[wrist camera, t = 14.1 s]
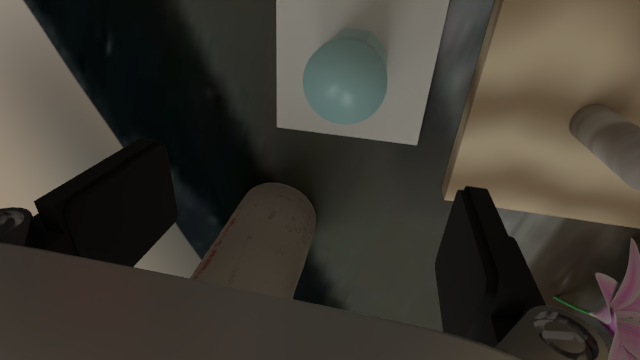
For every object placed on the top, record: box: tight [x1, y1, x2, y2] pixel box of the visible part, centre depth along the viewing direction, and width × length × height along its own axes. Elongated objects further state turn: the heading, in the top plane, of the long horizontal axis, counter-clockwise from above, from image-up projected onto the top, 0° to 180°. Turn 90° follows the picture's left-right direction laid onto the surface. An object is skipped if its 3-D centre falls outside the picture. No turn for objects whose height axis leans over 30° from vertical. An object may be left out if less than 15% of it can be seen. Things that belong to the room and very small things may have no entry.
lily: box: [554, 238, 640, 360], centre depth 30 cm, size 12×12×10 cm
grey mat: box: [276, 0, 450, 145], centre depth 27 cm, size 12×12×1 cm
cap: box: [303, 28, 388, 125], centre depth 24 cm, size 5×5×6 cm
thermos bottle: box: [190, 183, 317, 299], centre depth 24 cm, size 8×8×28 cm
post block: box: [442, 0, 640, 228], centre depth 22 cm, size 16×16×9 cm
